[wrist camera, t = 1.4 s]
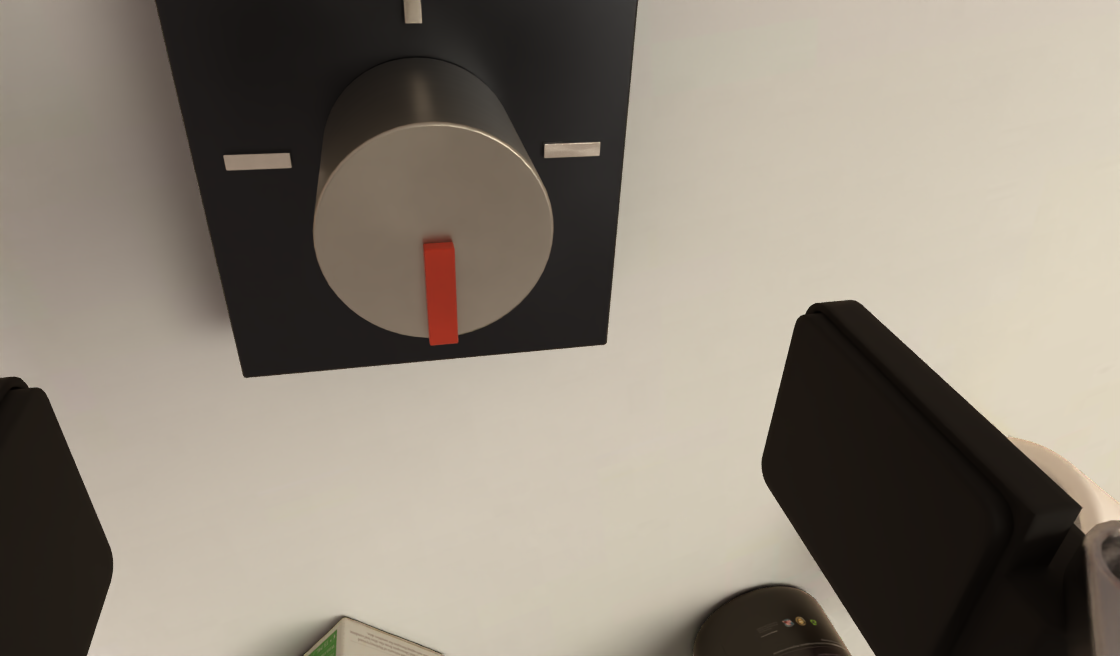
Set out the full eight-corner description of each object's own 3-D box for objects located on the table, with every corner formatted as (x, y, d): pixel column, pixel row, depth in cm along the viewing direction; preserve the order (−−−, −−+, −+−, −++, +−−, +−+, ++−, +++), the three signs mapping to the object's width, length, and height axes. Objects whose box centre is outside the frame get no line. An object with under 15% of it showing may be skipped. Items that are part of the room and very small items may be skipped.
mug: (961, 582, 39) (1160, 830, 30) (850, 521, 34) (1045, 796, 24) (1094, 478, 37) (1360, 713, 27) (995, 395, 32) (1278, 648, 22)
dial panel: (152, -165, 16) (112, -163, 13) (611, -144, 18) (654, -139, 15) (255, 319, 22) (242, 383, 20) (582, 293, 24) (609, 348, 22)
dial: (309, 58, 16) (293, 132, 12) (515, 56, 17) (562, 124, 13) (335, 244, 18) (328, 357, 14) (513, 234, 19) (553, 337, 15)
